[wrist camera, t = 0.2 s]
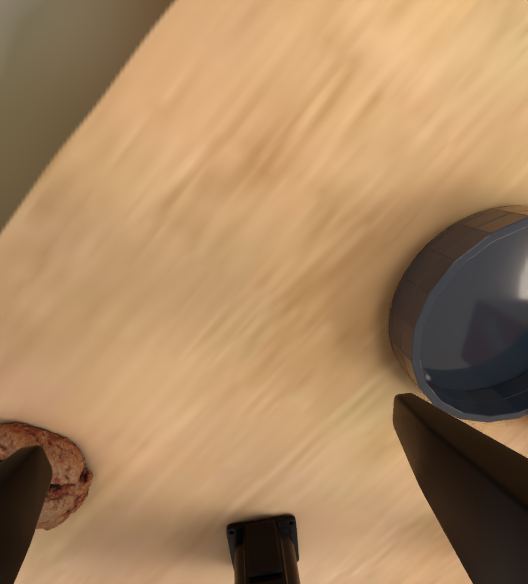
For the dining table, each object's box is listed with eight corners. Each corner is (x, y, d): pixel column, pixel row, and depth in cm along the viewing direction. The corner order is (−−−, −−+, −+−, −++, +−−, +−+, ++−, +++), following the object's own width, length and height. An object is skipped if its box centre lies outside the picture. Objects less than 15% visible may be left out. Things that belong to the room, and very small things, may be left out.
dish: (557, 378, 28) (599, 406, 25) (383, 402, 28) (404, 435, 24) (610, 194, 23) (674, 200, 19) (394, 217, 22) (423, 227, 19)
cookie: (-79, 461, 25) (-117, 498, 23) (32, 398, 24) (6, 429, 22) (20, 531, 29) (-2, 570, 26) (120, 478, 28) (108, 514, 25)
